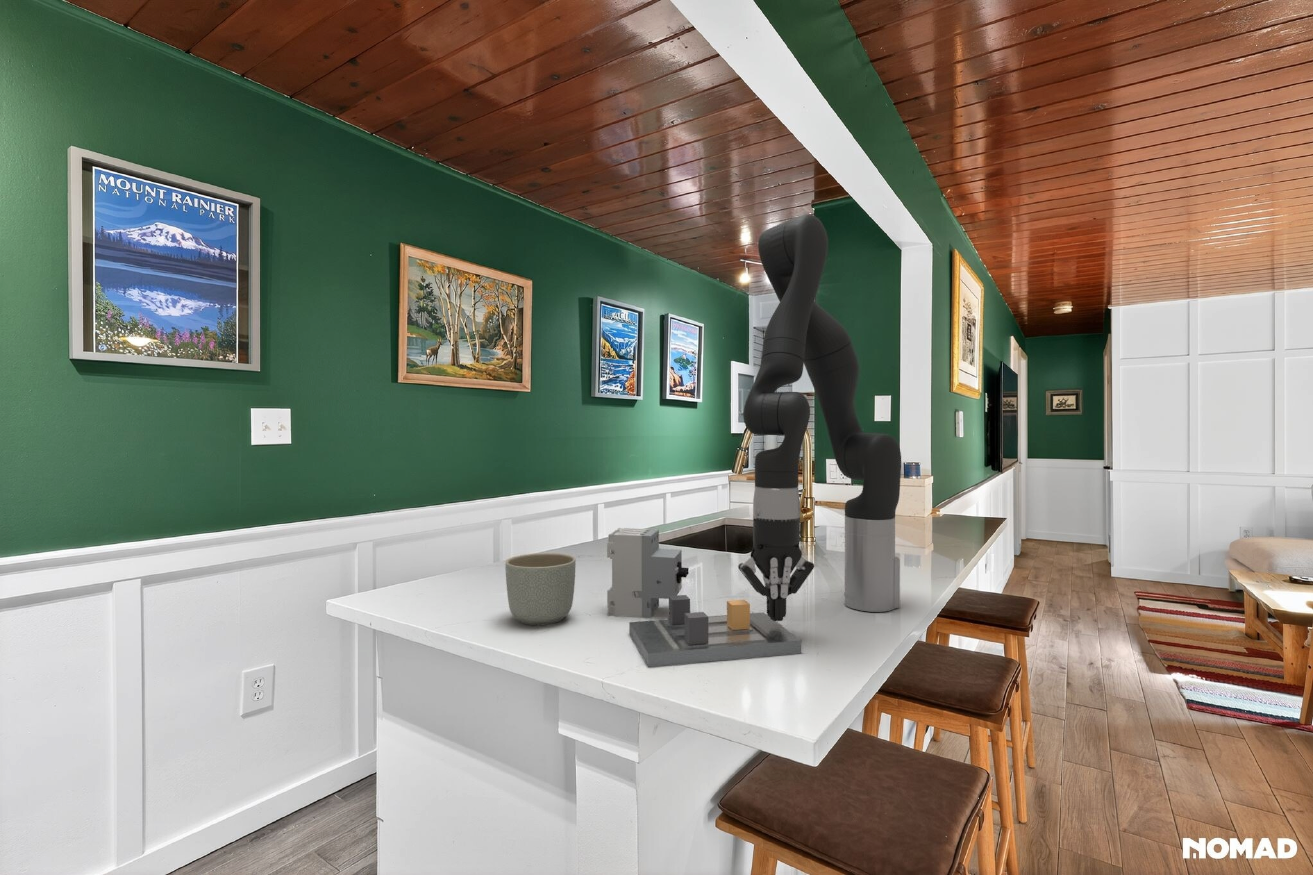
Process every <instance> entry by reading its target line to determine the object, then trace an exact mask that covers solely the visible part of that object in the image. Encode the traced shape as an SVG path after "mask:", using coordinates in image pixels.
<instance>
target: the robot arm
mask: <svg viewBox="0 0 1313 875" xmlns="http://www.w3.org/2000/svg"><path fill="white" fill-rule="evenodd" d="M757 248H758V255H759V259H760V262H761V265H762V267H763V271H764V272H765V274H766V277H767V278H768V281H769V283H770V284H771V287H772V289H773V290H774V291H773V292H774V293H775V295H776V297H777V299H778V300H779V303H778V305H777V306H776V308H775V310H774V312H773V314H772V315H771V317H770V319H769V321H768V323H767V327H766V328H765V332H764V337H763V342H762V343H763V344H762V349H761V350H762V351H761V357H760V358H761V359H760V366H759V369H758V372H757V375H756V376H755V379H754V382H753V384H752V386H751V389H750V391H749V393H748V395H747V398H746V400H745V404H744V407H743V422H744V425H745V427H746V429H747V430H748V432H750V433H751V434H753V435H756V436H757V435H758V436H784V437H783V440H782V442H781V443H780V445H779V446H778V447H775V448H770V449H765V450H761V451H758V453H757V454H756V455H755V458H754V492H753V500H752V504H753V505H752V512H753V514H752V516H753V517H752V520H753V521H752V533H753V534H752V543H753V546H752V550H751V551H750V557H749V558H748V559H747V560H746V561H745V562H744V563H743V562H741V563H739V564H738V565H737V566H738V570H739V571H740V572H741V573H742V574H741V575H743V576H744V578H745V579H746V580H747V581H748V583H749V584H750V586H752V588H753V589H754V590H755V592H757V593H758V594H760V595H761V596H764V597H766V614H767V615H768V616H769V617H770V619H772V620H773V621H776V622H782V621H784V618H785V617H786V615H787V597H789V596H790V595H792V594H794V595H795V594H797V592H798V591H799V590H800V589H801V587H802V586H803V585H804V583H805V581H806V580H807V578H808V577H809V576H810V574H811V573H812V571H813V570H814V568H815V564H814V563H813V562H811V561H809V560H807V559H806V558H805V557H803V552H802V550H801V548H800V541H801V517H800V516H801V500H800V491H799V464H800V463H799V462H800V456H801V450H802V446H803V442H804V438H805V435H806V431H807V429H808V425H809V422H810V416H811V408H810V407H811V406H810V403H809V400H808V399H807V397H806V396H805V395H804V394H802V393H801V392H799V391H777V390H778V389H779V388H781V387H784V386H786V385H787V386H788V385H790V384H794V383H797V382H798V381H799V380H800V379H801V378H802V377H803V372H804V367H805V370H806V372H807V375H808V377H809V380H810V382H811V385H812V387H813V389H814V392H815V396H816V398H817V401H818V404H819V407H820V410H821V413H822V415H823V418H824V422H825V425H826V429H827V433H828V437H829V442H830V445H831V449H832V452H833V456H834V459H835V462H836V465H837V468H838V469H839V471H840V472H841V473H842V475H843V476H845V477H846V478H848V479H850V480H856V481H863V483H862V490H861V493H860V494H859V495H858V496H856V497H853V498H850V499H848V500H846V501H845V503H844V504H845V505H844V591H843V592H844V593H843V596H844V605H845V606H847V607H848V608H849V609H854V610H857V611H860V612H861V611H862V612H872V613H874V612H875V613H879V612H880V613H882V612H889V611H893V610H894V609H899V608H900V606H901V604H900V601H901V600H900V599H901V598H900V597H901V595H900V594H901V593H900V590H901V589H900V580H901V579H900V577H901V576H900V572H901V570H900V569H901V566H900V565H901V559H900V558H899V557H898V556H897V555H896V511H897V508H898V504H899V501H900V494H901V493H900V492H901V491H900V490H901V473H902V452H901V448H900V445H899V442H898V441H897V439H896V438H895V437H894V436H892V435H890V434H888V433H878V432H870V433H869V432H863V430H862V427H861V425H860V423H859V420H858V417H857V414H856V408H855V395H856V393H857V392H856V391H857V387H858V386H857V385H858V383H859V382H858V381H859V374H860V365H859V361H858V357H857V354H856V352H855V348H854V346H853V345H854V344H853V342H852V340H851V337H850V334H849V333H848V330H846V328H845V327H844V326H843V325H842V323H840V322H839V321H838V320H837V319H836V318H834V317H833V316H832V315H831V314H830V313H829V312H828V311H826V310H825V309H824V308H823V307H821V305H819V304H818V303H817V302H816V301H815V300H816V298H817V293H818V290H819V287H820V283H821V280H822V275H823V273H824V268H825V265H826V262H827V256H828V251H829V250H828V248H829V238H828V234H827V230H826V228H825V227H824V224H823V223H822V221H821V220H820V219H819V218H818V217H816V216H815V215H813V214H810V213H806V214H802V215H798V216H796V217H793V218H790V219H788V220H786V221H784V222H782V223H781V222H780V223H779V224H777V225H775V226H772V227H770V228H767V229H766V230H764V231H762V233H761V234H760V236H759V238H758V243H757ZM756 567H757V568H758V570H759V572H760V573H761V574H762V579H763V583H764V584H763V583H762V581H761V580H760V579H759V577H758V575H757V574H756V571H757V569H756ZM795 568H796V569H795ZM794 569H795V570H794ZM793 571H794V572H793Z"/></svg>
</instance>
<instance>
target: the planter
mask: <svg viewBox="0 0 1313 875" xmlns="http://www.w3.org/2000/svg"><path fill="white" fill-rule="evenodd" d="M504 565H505V566H504V567H505V583H506V593H507V602H508V608H509V611H510V614H511V615H512V616H513V618H515V619H516V620H518V621H519V623H522V624H525V625H528V626H529V625H530V626H545V625H546V626H547V625H551V624H552V625H553V624H555V623H558V622H560V621H561V620H563V619H564V618H566V616H568V614H569V613H570V611H571V609H572V607H573V603H574V594H575V583H576V582H575V581H576V567H577V566H576V565H577V564H576V557H574V556H573V555H570V554H565V553H556V552H539V553H538V552H537V553H527V554H520V555H516V556H513V557H510V558H507V559H506V560H505V564H504Z"/></svg>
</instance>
